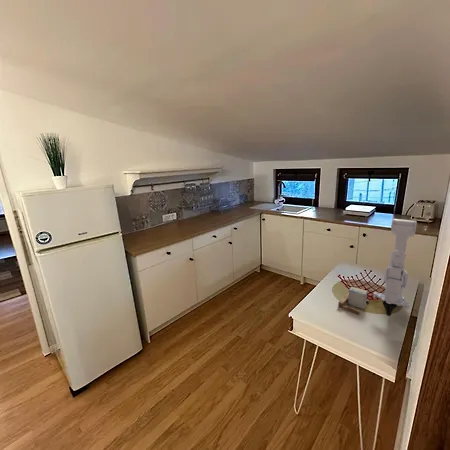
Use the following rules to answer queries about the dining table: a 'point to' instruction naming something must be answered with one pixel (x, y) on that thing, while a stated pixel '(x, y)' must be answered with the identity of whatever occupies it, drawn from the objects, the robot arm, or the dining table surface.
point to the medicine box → (357, 297)
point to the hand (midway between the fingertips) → (388, 315)
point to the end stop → (345, 301)
